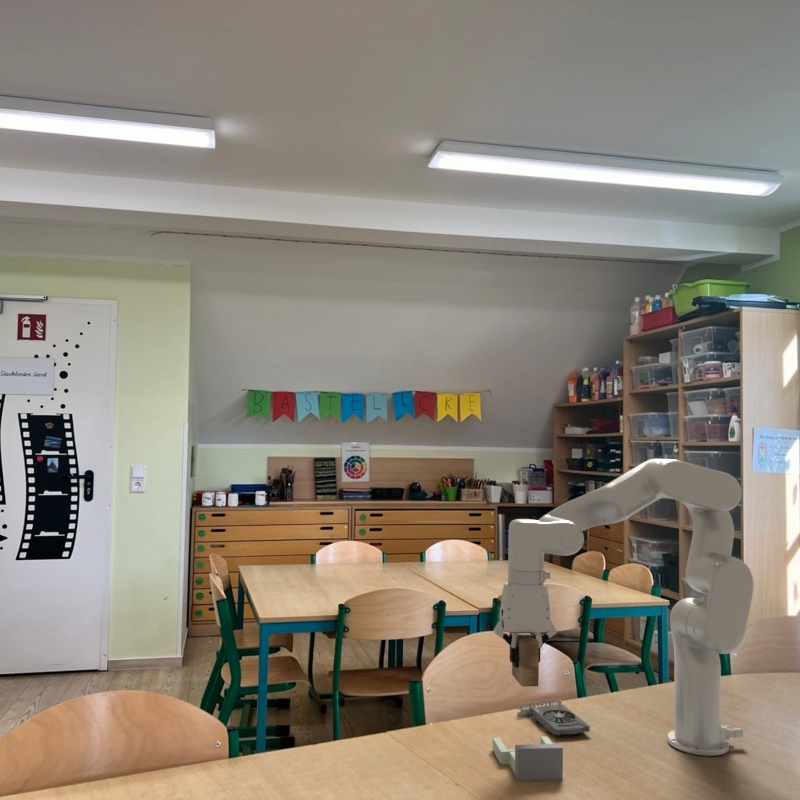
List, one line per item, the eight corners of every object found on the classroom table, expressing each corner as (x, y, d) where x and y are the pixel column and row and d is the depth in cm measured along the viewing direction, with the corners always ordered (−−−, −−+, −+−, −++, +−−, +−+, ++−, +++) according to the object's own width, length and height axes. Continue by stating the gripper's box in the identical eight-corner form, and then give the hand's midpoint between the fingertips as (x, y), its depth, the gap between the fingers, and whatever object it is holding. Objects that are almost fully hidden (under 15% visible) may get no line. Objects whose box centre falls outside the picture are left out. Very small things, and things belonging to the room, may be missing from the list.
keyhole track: (547, 748, 160) (547, 719, 160) (570, 779, 145) (570, 747, 145) (492, 749, 159) (492, 720, 159) (510, 780, 144) (510, 749, 144)
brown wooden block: (527, 674, 161) (528, 632, 161) (538, 686, 153) (538, 641, 153) (512, 674, 161) (512, 632, 161) (521, 686, 153) (522, 641, 153)
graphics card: (515, 701, 180) (560, 697, 183) (515, 717, 180) (561, 713, 183) (544, 728, 164) (594, 723, 167) (544, 745, 164) (594, 740, 167)
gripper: (558, 575, 163) (557, 660, 162) (484, 574, 161) (482, 660, 160) (569, 581, 155) (568, 670, 154) (491, 580, 154) (490, 671, 152)
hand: (524, 664), depth 157 cm, fingers closed on brown wooden block, 3 cm apart
